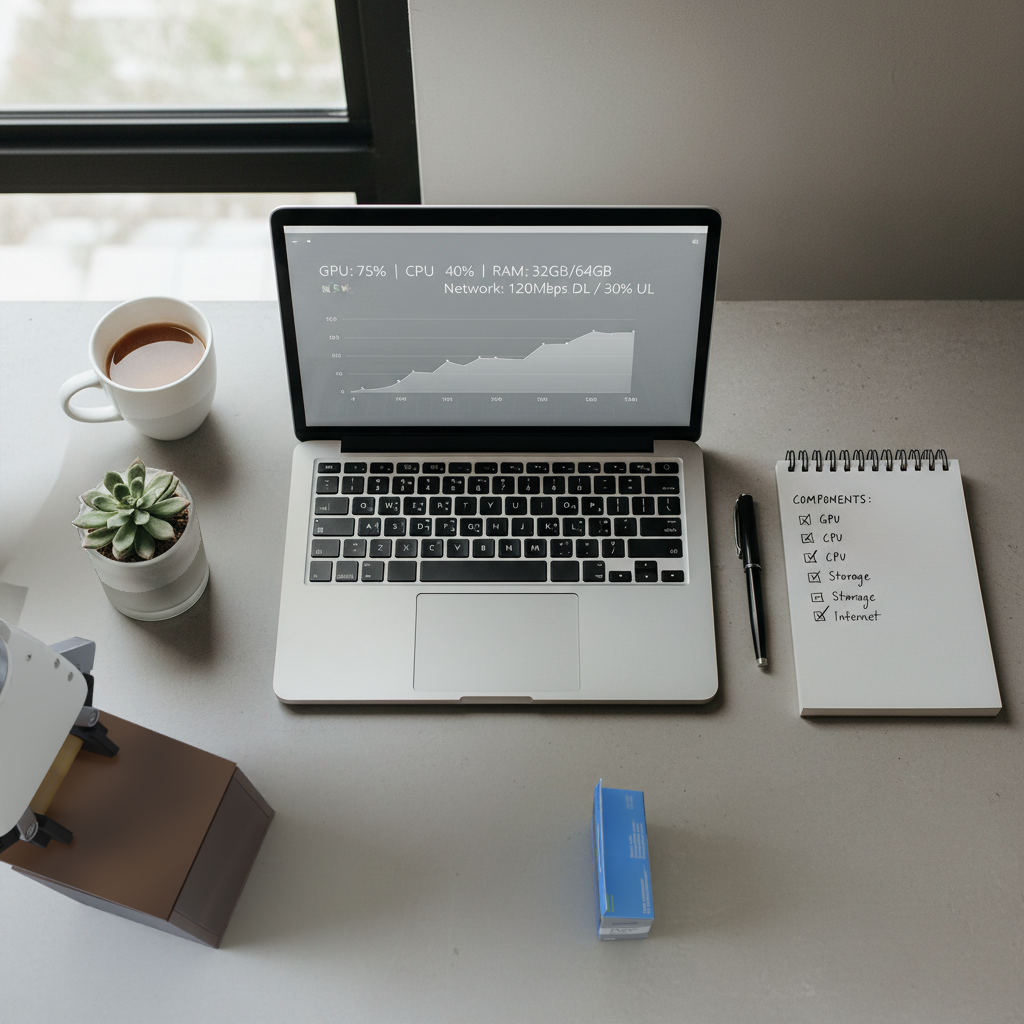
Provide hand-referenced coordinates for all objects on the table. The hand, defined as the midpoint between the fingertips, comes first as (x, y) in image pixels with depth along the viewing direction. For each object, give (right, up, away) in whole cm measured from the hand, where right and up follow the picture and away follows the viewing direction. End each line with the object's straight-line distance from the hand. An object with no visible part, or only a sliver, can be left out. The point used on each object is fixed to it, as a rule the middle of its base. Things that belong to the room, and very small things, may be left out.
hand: (74, 789), depth 63 cm
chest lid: (+2, -2, +2) cm, 3 cm away
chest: (+2, -9, +13) cm, 16 cm away
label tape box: (+36, -10, +12) cm, 40 cm away
